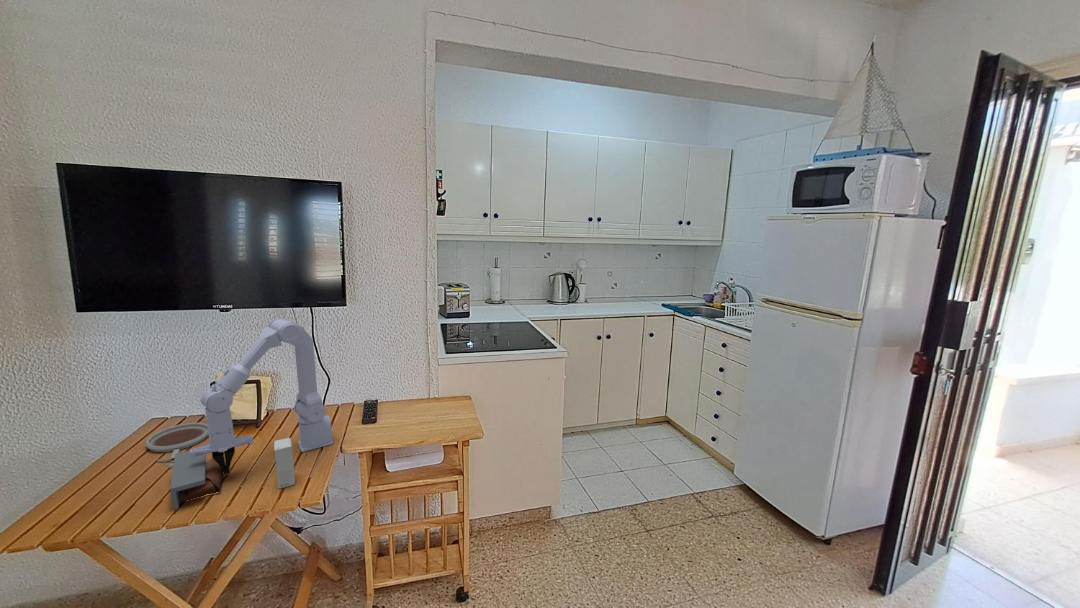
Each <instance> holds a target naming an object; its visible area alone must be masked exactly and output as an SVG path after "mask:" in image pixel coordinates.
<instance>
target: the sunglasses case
mask: <svg viewBox="0 0 1080 608" xmlns="http://www.w3.org/2000/svg"><path fill="white" fill-rule="evenodd" d="M224 461H225V459H224ZM225 462H226V461H225ZM223 475H224V473H223V471H222V469H221V467H220V466H219V464H218V463H217V462H216V461H215V460H214V459H213V457H211V458H210V459H209V460H207V461H206V474H205V484H203V485H199V486H195V487H192V488H188V489H185V491H186V492H185V500H183V501H182V503H185V502H184V501H187V500H190V501H192V500H191V499H194V498H197V497H201V496H204V495H206V494H211V493H216V492H219V493H221V487H222V481H223ZM194 500H195V499H194ZM187 502H188V501H187Z"/></svg>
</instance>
